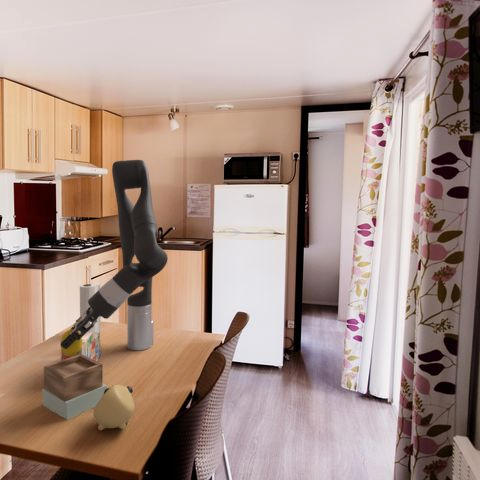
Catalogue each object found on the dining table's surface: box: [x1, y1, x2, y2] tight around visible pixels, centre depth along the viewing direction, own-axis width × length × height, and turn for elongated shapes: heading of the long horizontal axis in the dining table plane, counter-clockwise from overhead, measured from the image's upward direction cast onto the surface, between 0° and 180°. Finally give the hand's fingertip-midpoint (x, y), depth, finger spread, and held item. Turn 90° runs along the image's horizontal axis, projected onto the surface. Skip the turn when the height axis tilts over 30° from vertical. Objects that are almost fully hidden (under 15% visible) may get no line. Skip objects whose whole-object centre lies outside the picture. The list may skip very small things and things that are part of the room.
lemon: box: [60, 328, 82, 357], centre depth 105 cm, size 6×6×8 cm
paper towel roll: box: [79, 283, 102, 333], centre depth 160 cm, size 7×6×21 cm
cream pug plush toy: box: [92, 384, 136, 431], centre depth 97 cm, size 10×12×11 cm
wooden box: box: [43, 354, 104, 402], centre depth 106 cm, size 11×11×6 cm
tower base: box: [41, 383, 107, 421], centre depth 107 cm, size 12×12×5 cm
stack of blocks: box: [60, 332, 101, 362], centre depth 128 cm, size 21×6×12 cm, turn 6°
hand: (64, 342), depth 104 cm, fingers closed on lemon, 5 cm apart
